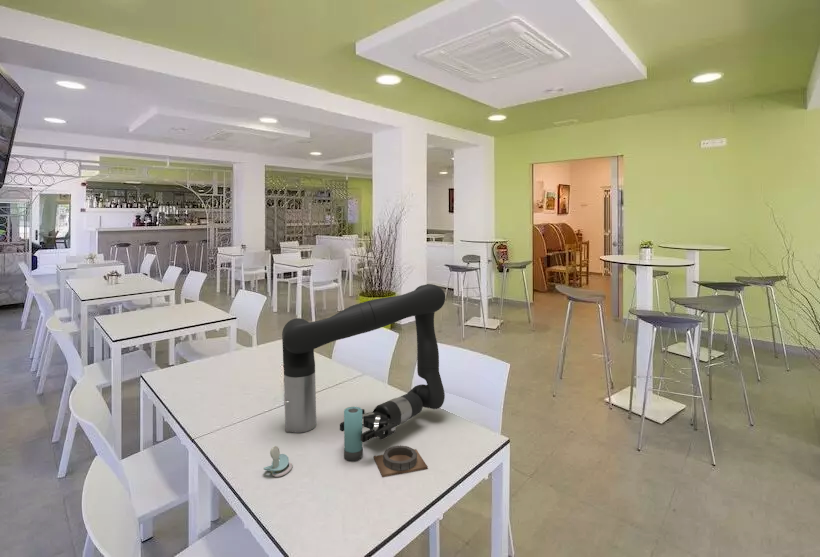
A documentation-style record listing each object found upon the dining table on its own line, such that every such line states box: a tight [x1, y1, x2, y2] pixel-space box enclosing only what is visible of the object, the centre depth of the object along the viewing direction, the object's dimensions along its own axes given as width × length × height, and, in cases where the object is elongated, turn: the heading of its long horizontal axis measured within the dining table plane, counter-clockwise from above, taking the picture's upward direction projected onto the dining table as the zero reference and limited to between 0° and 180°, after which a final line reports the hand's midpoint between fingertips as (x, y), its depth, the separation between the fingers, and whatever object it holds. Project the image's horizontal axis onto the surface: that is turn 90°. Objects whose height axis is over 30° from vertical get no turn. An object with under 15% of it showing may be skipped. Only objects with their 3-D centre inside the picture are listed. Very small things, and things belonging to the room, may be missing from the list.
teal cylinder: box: [343, 406, 364, 463], centre depth 116 cm, size 5×5×13 cm
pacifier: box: [263, 445, 293, 478], centre depth 110 cm, size 7×6×6 cm
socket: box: [373, 444, 429, 478], centre depth 114 cm, size 12×9×3 cm
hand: (350, 432), depth 115 cm, fingers open, 8 cm apart
